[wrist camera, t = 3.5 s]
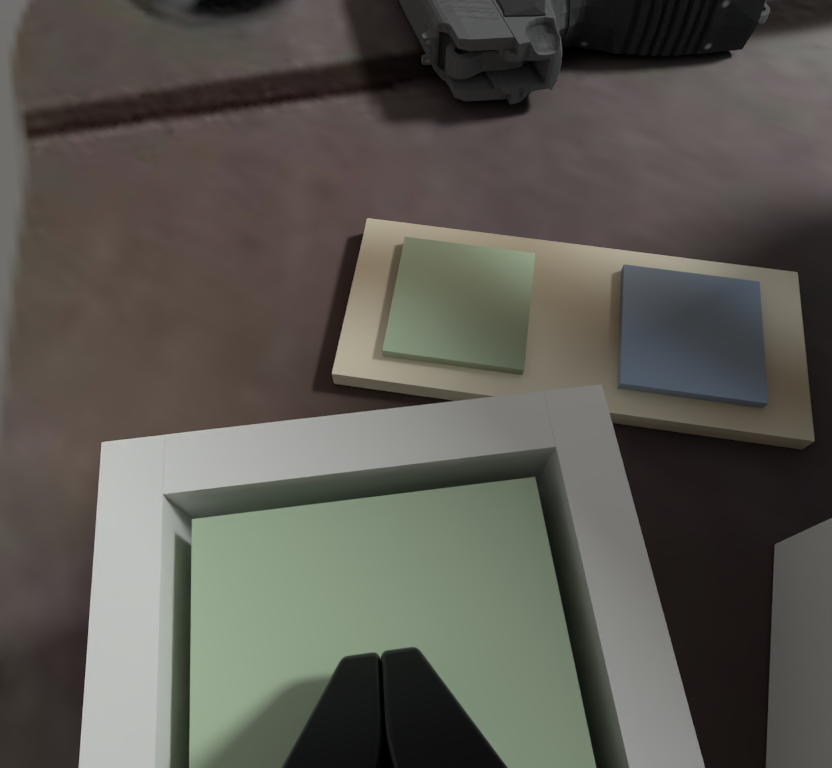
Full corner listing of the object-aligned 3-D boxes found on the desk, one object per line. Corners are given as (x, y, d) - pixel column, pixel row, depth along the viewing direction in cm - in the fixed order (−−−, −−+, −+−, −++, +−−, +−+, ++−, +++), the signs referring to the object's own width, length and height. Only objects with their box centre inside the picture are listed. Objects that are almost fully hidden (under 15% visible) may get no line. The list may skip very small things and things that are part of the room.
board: (802, 449, 17) (821, 436, 17) (334, 383, 18) (330, 368, 17) (787, 284, 20) (803, 266, 19) (368, 231, 20) (366, 211, 19)
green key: (522, 804, 13) (622, 885, 7) (295, 838, 13) (187, 955, 7) (484, 574, 15) (534, 476, 9) (284, 600, 15) (191, 519, 9)
